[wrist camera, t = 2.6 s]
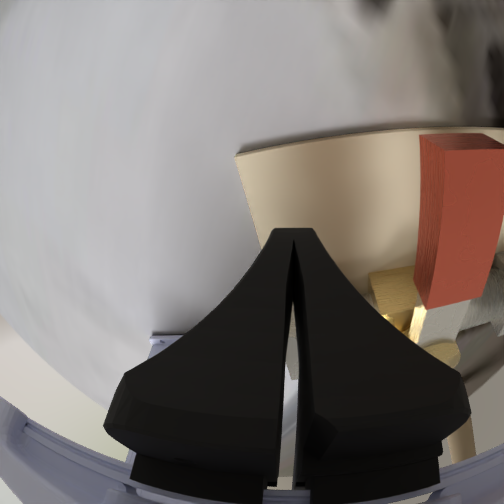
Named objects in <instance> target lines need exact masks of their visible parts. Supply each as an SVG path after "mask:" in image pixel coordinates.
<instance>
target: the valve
mask: <svg viewBox="0 0 504 504" xmlns="http://www.w3.org/2000/svg"><path fill="white" fill-rule="evenodd" d="M414 269H415V265H411V266H406V267H400V268H394V269H388V270H382V271H376V272H370V273H368V293H365V294H361V295H362V296H363V297H364V298H365V299H366V300H367V301H368V302H369V303H370V305H371V306H372V307H373V308H374V309H376V310H377V311H378V312H379V313H380V314H381V315H382V316H383V317H384V318H385V319H386V320H388V321H389V322H390V323H391V324H392V325H393V326H395V327H396V328H397V329H398V330H399V331H400V332H404V331H405V330H407V329H408V328H410V327H411V322H412V318H413V313H414V309H415V304H416V299H417V293H418V290H417V288H416V286H415V284H414V281H413V276H414ZM487 322H491V324H492V326H493V328H494V330H495V332H496V334H497V336H498V337H499V336H501V335H504V251H502V252H498V253H495V256H494V260H493V263H492V266H491V269H490V272H489V275H488V278H487V281H486V284H485V287H484V290H483V293H482V296H481V297H477V298H474V299H471V300H470V303H469V306H468V309H467V311H466V314H465V316H464V319H463V322H462V324H461V327H460V329H459V331H460V330H464V329H467V328H471V327H474V326H477V325H480V324H484V323H487ZM286 364H287V367H288V370H289V373H290V376H291V379H292V380H295V379H298V375H299V365H298V349H297V338H296V327H295V317H294V307H293V305H292V314H291V322H290V331H289V338H288V346H287V354H286Z"/></svg>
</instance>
